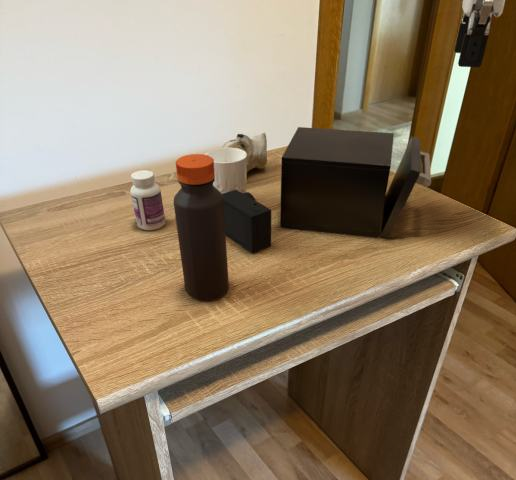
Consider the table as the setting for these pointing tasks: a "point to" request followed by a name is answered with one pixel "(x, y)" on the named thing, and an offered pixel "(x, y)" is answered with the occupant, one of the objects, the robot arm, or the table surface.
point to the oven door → (405, 184)
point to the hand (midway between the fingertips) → (466, 59)
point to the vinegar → (201, 228)
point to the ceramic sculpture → (251, 149)
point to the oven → (335, 181)
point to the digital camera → (247, 221)
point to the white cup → (229, 169)
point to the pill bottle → (147, 201)
